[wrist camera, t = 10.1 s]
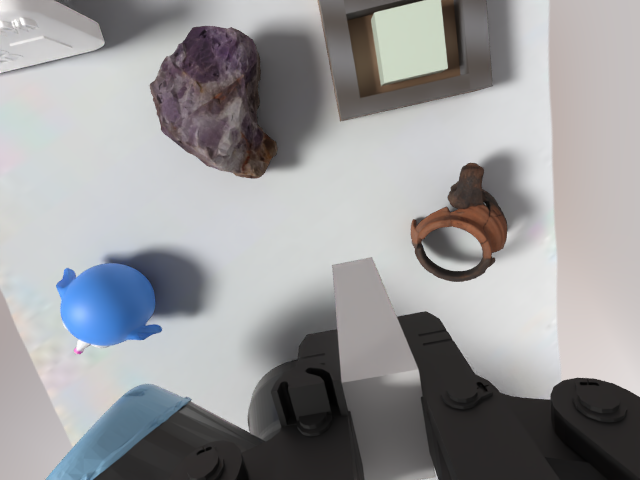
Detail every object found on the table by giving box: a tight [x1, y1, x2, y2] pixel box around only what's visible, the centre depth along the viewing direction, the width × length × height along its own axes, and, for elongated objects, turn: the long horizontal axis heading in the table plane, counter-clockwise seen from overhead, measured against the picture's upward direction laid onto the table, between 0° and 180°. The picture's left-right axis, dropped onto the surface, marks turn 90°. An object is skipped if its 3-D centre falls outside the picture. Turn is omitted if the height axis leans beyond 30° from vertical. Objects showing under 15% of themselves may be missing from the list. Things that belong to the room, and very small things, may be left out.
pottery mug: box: [411, 163, 507, 282], centre depth 37 cm, size 12×10×8 cm
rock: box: [150, 26, 278, 178], centre depth 33 cm, size 12×9×10 cm
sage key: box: [371, 0, 448, 86], centre depth 31 cm, size 6×6×2 cm
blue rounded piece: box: [56, 263, 162, 354], centre depth 38 cm, size 12×12×8 cm
